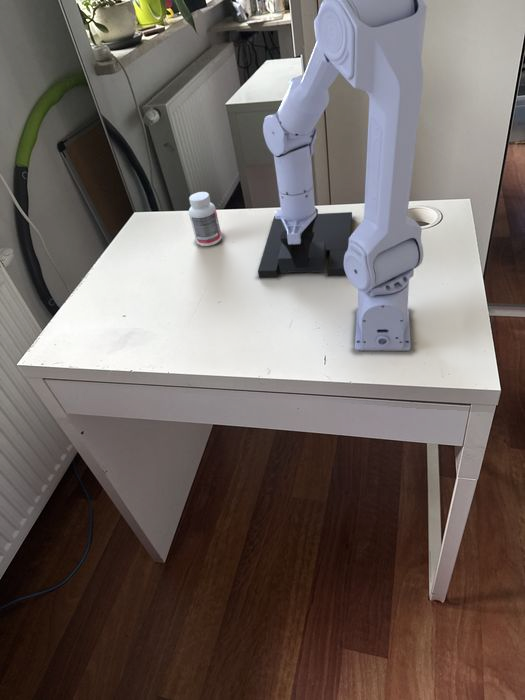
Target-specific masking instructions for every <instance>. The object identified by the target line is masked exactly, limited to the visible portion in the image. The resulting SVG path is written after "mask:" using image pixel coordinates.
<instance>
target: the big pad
mask: <svg viewBox="0 0 525 700" xmlns="http://www.w3.org/2000/svg"><path fill="white" fill-rule="evenodd" d="M352 225H353V212H352V211H347V212H345V211H344V212H343V211H342V212H324V213H318V215H317V218H316V220H315V223H314V226H313V232H314V237H313V240H312V243H316V242H325V245H326V258H328V265H327V276H328V277H341V276H344V277H345V276H346V277H347V275H346V273H345V270H344V256H345V253H346V251H347V249H348V245H349V237H350V236H351V235H352ZM282 231H286V228H285V226H284V224H283V222H282V220H281V219H276V218H275V215H274V216H273V219H272V222H271V226H270V229H269V232H268V236H267V239H266V243H265V246H264V249H263V252H262V256H261V260H260V262H259V266H258V270H257V274H258V278H259V279H261V278H263V279H265V278H266V279H267V278H268V279H269V278H278V276H279V273H280V269H279V262H278V257H279V253H280V249H281V245H282V244H283V243H282V242H281V240H280V235H281V232H282Z"/></svg>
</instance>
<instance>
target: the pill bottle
mask: <svg viewBox="0 0 525 700" xmlns="http://www.w3.org/2000/svg"><path fill="white" fill-rule="evenodd" d="M188 200H189V205H190V207H189V209H188V215H189V219H190V223H191V226H192V230H193V234H194V238H195V242H196V244H197V245H199V246H202V247H211V246H214V245H216V244H218V243H219V242H220V241H221V240H222V238H223V236H222V231H221V227H220V222H219V218H218V213H217V208H216V206H215V204H214V203H213V202H211V197H210V194H209V193H208V192H207V191H198V192H195V193H193V194H191V195H190V196H189V197H188Z"/></svg>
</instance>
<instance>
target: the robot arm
mask: <svg viewBox="0 0 525 700" xmlns="http://www.w3.org/2000/svg"><path fill="white" fill-rule="evenodd" d="M427 9H428V7H427V4H426V3H425V1H424V0H322V2H321V3H320V6H319V9H318V13H317V16H316V17H315V19H314V20H313V26H314V35H315V41H316V42H315V45H314V48H313V49H312V53H311V55H310V58H309V61H308V63H307V67H306V69H305V71H304V74H300V75H298V76H295V77H292V78H291V79H290V81H289V82H288V85H289V87H288V89H287V91H286V93H285V95H284V97H283V99H282V101H281V103H280V105H279V108H278V110H277V112H276V113H273V114H269V115H266V116H265V117H264V119H263V120H264V121H263V124H262V132H263V137H264V141H265V144H266V146H267V148H268V150H269V151H270V153H271V154H272V155H273V160H274V161H273V162H274V168H275V174H276V182H277V190H278V198H279V204H280V209H277V210H276V211H275V212H274V216H275V218H276V219H281V220H282V222H283V224H284V226H285V228H286V231H282V232H281V235H280V240H281V242H282V243H283V244H284V245H285V247H286V248H287V249H288V251H289V253H290V255H291V258H292V260H293V263H294V265H295V267H296V268H306V267H307V265H308V259H309V247H310V244H311V243H312V240H313V237H314V232H313V226H314V223H315V220H316V218H317V215H318V214H319V209H318V208H317V207H316V205H315V203H316V202H315V192H314V181H313V169H312V158H311V157H313V155H314V153H315V152H314V151H315V150H314V144H315V142H316V140H317V128H316V125H317V123H318V121H319V120H320V118H321V117H322V115H323V114H324V112H325V110H326V109H327V107H328V105H329V102H330V92H329V88H330V87H331V85H332V84H333V83H334V81H335V80H336V79H337V77H339V74H340V75H342V76H343V78H344V79H345V80H346V81H347V82H348V83H349V84H350V85H351V86H352V88H354V89H356V90H361V91H364V92H366V93H367V96H368V98H369V101H368V120H367V121H368V122H367V123H368V124H367V142H366V143H367V144H366V145H367V146H366V166H365V186H364V207H363V219H362V220H361V222H360V224H358V226H357V227H356V228H355V229H354V231H353V232H351V236H350V237H349V245H348V249H347V251H346V253H345V256H344V270H345V273H346V275H347V276H346V277H347V280H348V281H349V282H350V284H351V285H352V286H353V287H354V288H355V289H357V307H358V308H357V309H356V317H355V318H356V321H355V338H354V350H355V351H395V352H396V351H400V352H401V351H404V352H405V351H406V352H407V351H411V348H412V344H411V343H412V342H411V326H410V325H411V324H410V310H409V308H408V306H409V290H410V289H409V287H410V286H409V285H410V280H411V278H413V277H414V272H415V271H414V269H416V268H418V267H420V266H421V264H422V263H423V260H424V246H423V243H422V233H423V232H422V231H423V228H422V227H421V225H419V223H418V222H417V221H416V220H415V219H413V218H412V217H410V216H408V212H409V203H410V195H411V187H412V179H413V178H412V177H413V170H414V162H415V151H416V144H417V135H418V127H419V119H420V109H421V100H422V92H423V81H424V74H423V73H424V72H423V62H422V53H423V46H424V45H423V43H424V36H425V28H426V27H425V26H426V17H427Z"/></svg>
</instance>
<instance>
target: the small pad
mask: <svg viewBox="0 0 525 700" xmlns="http://www.w3.org/2000/svg"><path fill="white" fill-rule="evenodd" d="M326 261H327V257H326V245H325V242H316V243H311V244H310V247H309V259H308V265H307V267H306V268H296V267H295V265H294V263H293V260H292V258H291V255H290V253H289V251H288V249H287V248H286V247H285V245H284V244H282V245H281V249H280V253H279V257H278V262H279V273H316V272H317V273H318V272H325V267H326Z"/></svg>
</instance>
